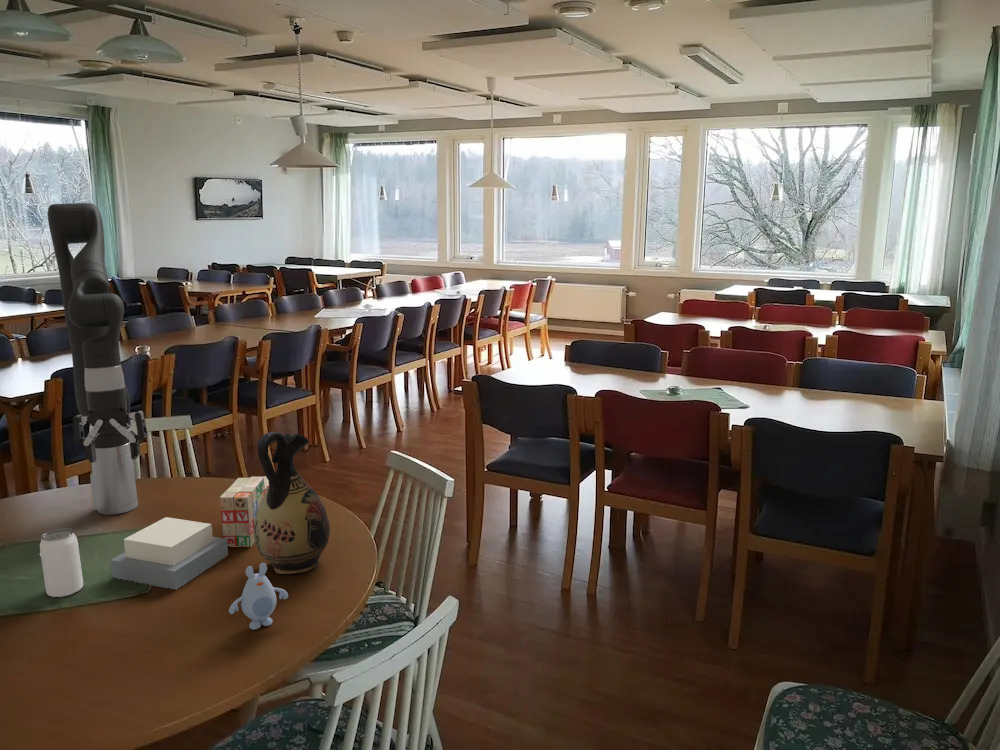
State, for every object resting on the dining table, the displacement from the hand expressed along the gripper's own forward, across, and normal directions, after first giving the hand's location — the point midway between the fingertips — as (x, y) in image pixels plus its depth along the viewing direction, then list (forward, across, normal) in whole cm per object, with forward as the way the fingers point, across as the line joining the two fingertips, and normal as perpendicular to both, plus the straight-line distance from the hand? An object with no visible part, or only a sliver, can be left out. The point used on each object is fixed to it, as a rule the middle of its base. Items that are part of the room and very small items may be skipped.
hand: (113, 460), depth 168 cm
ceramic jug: (+23, -38, +14) cm, 46 cm away
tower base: (+22, -13, +10) cm, 27 cm away
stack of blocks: (+21, -26, -8) cm, 35 cm away
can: (+22, +6, +18) cm, 29 cm away
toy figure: (+24, -34, +37) cm, 56 cm away
